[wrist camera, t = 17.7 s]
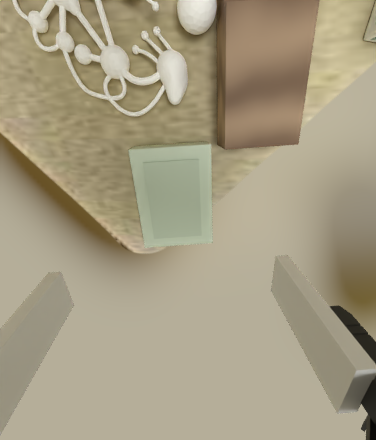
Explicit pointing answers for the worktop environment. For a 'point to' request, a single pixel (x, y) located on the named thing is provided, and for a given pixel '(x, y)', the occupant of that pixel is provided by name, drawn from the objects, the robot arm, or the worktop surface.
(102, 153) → the worktop surface
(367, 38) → the syrup box
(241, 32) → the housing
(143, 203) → the cover
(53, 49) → the tangled rod sculpture
